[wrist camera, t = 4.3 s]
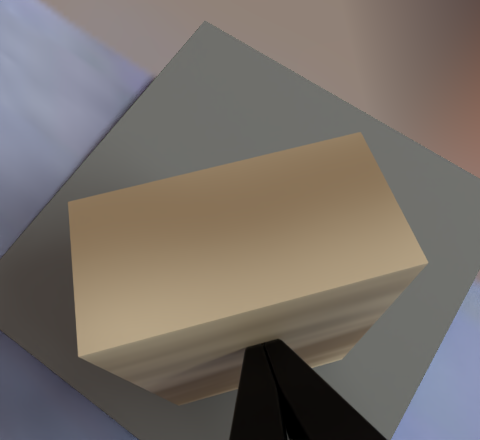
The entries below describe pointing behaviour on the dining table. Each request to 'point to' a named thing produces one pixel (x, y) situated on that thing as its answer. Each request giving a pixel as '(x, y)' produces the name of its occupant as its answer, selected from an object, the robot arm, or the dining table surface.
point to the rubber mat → (228, 151)
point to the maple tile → (238, 266)
